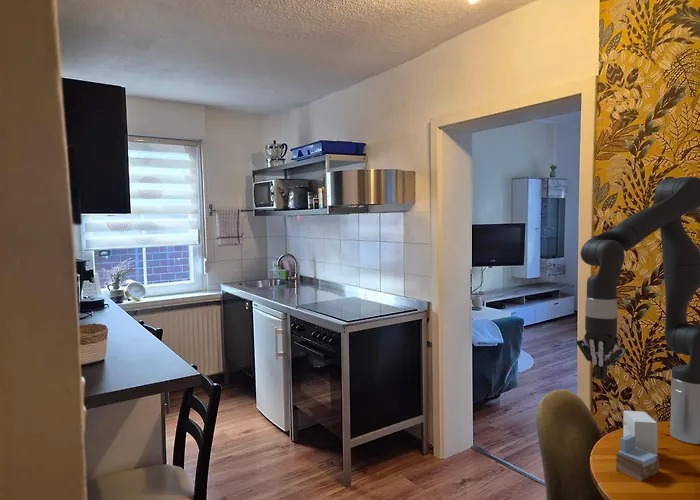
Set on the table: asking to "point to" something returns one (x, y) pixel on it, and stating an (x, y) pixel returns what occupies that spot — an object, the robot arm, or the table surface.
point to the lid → (635, 451)
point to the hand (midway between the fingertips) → (600, 378)
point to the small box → (641, 430)
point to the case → (636, 467)
